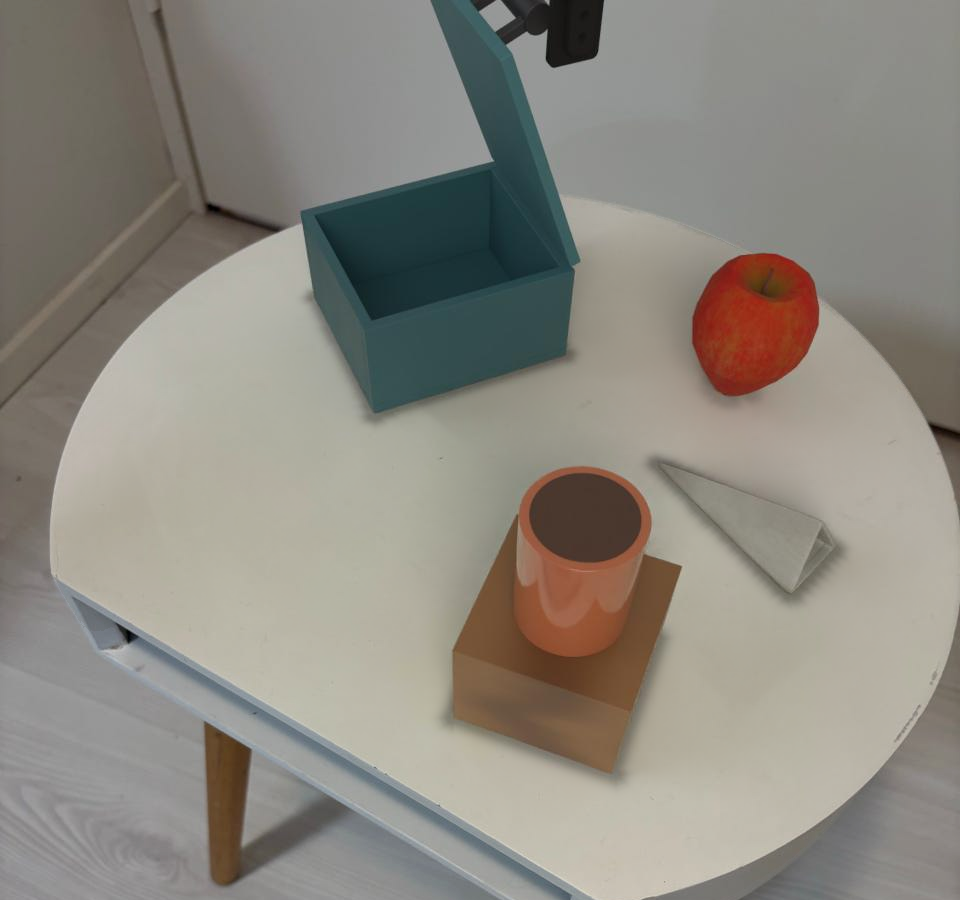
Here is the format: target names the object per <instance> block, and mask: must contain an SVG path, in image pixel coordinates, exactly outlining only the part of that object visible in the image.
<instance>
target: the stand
mask: <svg viewBox="0 0 960 900" xmlns="http://www.w3.org/2000/svg"><path fill="white" fill-rule="evenodd" d="M518 518H519V513H516V514H515V517H514V518H513V521H512V523H511V525H510V527H509V529H508V532H507V533H506V536H505V538H504V539H503V542H502V544H501V546H500V549H499V551H498V553H497V555H496V557H495V558H494V560H493V563H492V565H491V566H490V567H491V568H490V570H489V572H488V574H487V576H486V578H485V581H484V582H483V585H482V587H481V588H480V591H479V593H478V595H477V597H476V599H475V601H474V604H473V606H472V608H471V610H470V612H469V614H468V616H467V618H466V620H465V622H464V625H463V627H462V629H461V630H460V633H459V635H458V637H457V638H456V639H457V640H456V641H455V644H454V645H453V648H452V650H451V659H452V660H451V661H452V663H451V664H452V699H453V703H452V704H453V718H455V719H457V720H459V721H462V722H465V723H468V724H471V725H473V726H476V727H479V728H481V729H485V730H488V731H491V732H493V733H495V734H499V735H502V736H504V737H507V738H510V739H513V740H515V741H517V742H521V743H524V744H527V745H530V746H532V747H535V748H538V749H541V750H543V751H546V752H549V753H551V754H555V755H557V756H559V757H563V758H565V759H569V760H571V761H574V762H576V763H579V764H582V765H585V766H588V767H590V768H593V769H597V770H599V771H601V772H604V773H607V774H611V775H612V774H613V772H614V769H615V766H616V763H617V760H618V757H619V755H620V752H621V749H622V745H623V744H624V743H623V742H624V740H625V737H626V735H627V732H628V729H629V726H630V724H631V720H632V717H633V715H634V711H635V709H636V706H637V703H638V700H639V698H640V694H641V692H642V688H643V686H644V683H645V680H646V677H647V674H648V672H649V669H650V666H651V664H652V660H653V657H654V654H655V652H656V649H657V646H658V643H659V641H660V637H661V634H662V631H663V628H664V626H665V623H666V619H667V616H668V612H669V609H670V606H671V603H672V601H673V597H674V595H675V591H676V588H677V584H678V581H679V578H680V575H681V572H682V569H683V566H682V565H680V564H677V563H674V562H671V561H668V560H664V559H661V558H658V557H655V556H652V555H649V554H646V553H645V555H644V559H643V563H642V567H641V571H640V574H639V578H638V582H637V586H636V590H635V594H634V597H633V601H632V605H631V609H630V613H629V617H628V620H627V624H626V626H625V629H624V631H623V632H622V634H621V635H620V637H619V638H618V639H617V640H616V641H615V642H614V643H613V644H611V645H610V646H609V647H607V648H606V649H604V650H602V651H600V652H598V653H595V654H592V655H588V656H582V657H565V656H559V655H555V654H552V653H549V652H547V651H544V650H542V649H540V648H539V647H537V646H536V645H534V644H533V643H531V642H530V641H529V640H528V639H527V638H526V637H525V636H524V635H523V633H522V632H521V631H520V629H519V627H518V626H517V624H516V621H515V619H514V615H513V609H512V601H513V587H514V573H515V559H516V546H517V532H518Z"/></svg>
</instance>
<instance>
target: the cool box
mask: <svg viewBox="0 0 960 900" xmlns="http://www.w3.org/2000/svg"><path fill="white" fill-rule="evenodd" d="M299 213H300V219H301V225H302V226H301V227H302V231H303V238H304V244H305V250H306V257H307V262H308V269H309V275H310V281H311V287H312V292H313V298H314V300H315V302H316V303H317V306H318V307H319V311H321V314H322V316H323V317H324V320H325V321H326V324H327V325H328V328H329V329H330V331H331V333H332V336H333V337H334V339H335V341H336V343H337V346H338V347H339V349H340V351H341V353H342V354H343V356H344V359H345V360H346V362H347V364H348V367H349V368H350V370H351V372H352V374H353V376H354V378H355V380H356V382H357V383H358V386H359V387H360V390H361V391H362V393H363V395H364V397H365V399H366V401H367V403H368V405H369V408H370V410H371V411H372V413H373V414H379V413H382V412H384V411H388V410H391V409H395V408H398V407H401V406H404V405H407V404H411V403H414V402H418V401H421V400H424V399H426V398H427V399H428V398H430V397H433V396H437V395H440V394H444V393H446V392H450V391H453V390H457V389H459V388H463V387H466V386H470V385H473V384H475V383H476V384H477V383H480V382H483V381H486V380H488V379H492V378H496V377H498V376H499V377H500V376H502V375H505V374H508V373H511V372H515V371H518V370H521V369H525V368H528V367H532V366H534V365H538V364H540V363H545V362H547V361H550V360H553V359H556V358H560V357H563V356H564V357H565V356H566V354H567V353H566V352H567V346H568V335H569V327H570V319H571V310H572V301H573V293H574V283H575V274H576V269H575V268H574V266H573V267H570V266H569V264H568V263H567V261H566V260H565V259H564V257H563V256H562V254H561V253H560V252H559V250H558V249H557V248H556V246H555V245H554V243H553V242H552V241H551V239H550V238H549V236H548V235H547V234H546V232H545V231H544V229H543V228H542V227H541V225H540V224H539V223H538V221H537V220H536V218H535V217H534V216H533V214H532V213H531V211H530V210H529V209H528V207H527V206H526V204H525V203H524V202H523V200H522V199H521V198H520V196H519V195H518V193H517V192H516V191H515V189H514V188H513V186H512V185H511V184H510V182H509V181H508V180H507V178H506V177H505V175H504V174H503V173H502V171H501V170H500V168H499V167H498V166H497V164H496V163H495V161H494V160H493V161H489V162H485V163H481V164H477V165H473V166H470V167H465V168H462V169H458V170H454V171H450V172H446V173H443V174H439V175H435V176H431V177H427V178H422V179H419V180H415V181H412V182H407V183H403V184H399V185H395V186H391V187H388V188H383V189H380V190H375V191H372V192H369V193H368V192H367V193H364V194H360V195H356V196H353V197H349V198H345V199H340V200H337V201H332V202H328V203H325V204H322V205H318V206H314V207H310V208H306V209H302V210H300V211H299Z"/></svg>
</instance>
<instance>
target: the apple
mask: <svg viewBox="0 0 960 900" xmlns="http://www.w3.org/2000/svg"><path fill="white" fill-rule="evenodd" d="M691 319H692V320H691V324H692V325H691V344H692V347H693V349H694V353H695V355H696V358H697V360H698V362H699V365H700V367H701V370H702V371H703V372H704V374H705V376H706V378H707V379H708V380H709V382H710V384H711V385H712V386H713V387H714V390H716V392H717V393H719V394H722V395H724V396H727V397H741V396H745V395H749V394H752V393H755V392H757V391H759V390H761V389H763V388H765V387H768V386H771V385H772V384H775V383H776V382H779V380H781V379H783V378H784V377H786V376H787V375H789V374H790V373H791V372H792V371H793V370H795V369H796V368H797V367H798V366H799V365H800V363H801V362H802V361H803V360H804V358H805V357H806V356H807V355H808V353H809V351H810V348H811V346H812V343H813V341H814V339H815V336H816V333H817V331H818V328H819V326H820V305H819V299H818V292H817V288H816V283H815V281H814V279H813V277H812V275H811V274H810V273H809V271H807V270H806V269H805V268H804V267H802V266H801V265H799V264H798V263H797V262H796V261H795V260H792V259H790V258H787V257H785V256H783V255H780V254H779V253H770V252H757V253H749V254H740V255H738V256H735V257H733V258H731V259H729V260H726V262H725V263H723V265H721V266H720V267H719V268H718V269H717V270H715V272H714V273H712V275H711V276H710V278H709V280H708V281H707V283H706V285H705V287H704V288H703V291H702V292H701V294H700V296H699V298H698V300H697V302H696V305H695V308H694V311H693V314H692V317H691Z"/></svg>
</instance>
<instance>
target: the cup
mask: <svg viewBox="0 0 960 900" xmlns="http://www.w3.org/2000/svg"><path fill="white" fill-rule="evenodd" d="M646 500H647V499H645V497H644V495H643V494H642V493H641V492H640V490H639V489H638V488H637V487H636V486H635V485H634V484H633V483H632V482H630V480H627V479H626V478H625V477H623V476H621V475H619V474H617V473H615V472H612V471H611V470H607V469H604V468H600V467H594V466H585V465H584V466H583V465H581V466H580V465H579V466H577V465H576V466H570V467H563V468H559V469H555V470H553V471H551V472H549V473H546V474H545V475H543V476H541V477H540V478H539V479H537V480H536V481H535V482H534V483H532V484H531V486H530V487H528V489H527V490H526V491H525V493H524V495H523V497H522V499H521V502H520V504H519V509H518V514H519V518H518V532H517V546H516V559H515V573H514V587H513V601H512V609H513V615H514V619H515V621H516V624H517V626H518V627H519V629H520V631H521V632H522V633H523V635H524V636H525V637H526V638H527V639H528V640H529V641H530V642H531V643H533V644H534V645H536V646H537V647H539V648H540V649H542V650H544V651H547V652H549V653H552V654H555V655H559V656H565V657H582V656H588V655H592V654H595V653H598V652H600V651H602V650H604V649H606V648H607V647H609V646H610V645H611V644H613V643H614V642H615V641H616V640H617V639H618V638H619V637H620V635H621V634H622V632H623V631H624V629H625V626H626V624H627V620H628V617H629V613H630V609H631V605H632V601H633V597H634V594H635V590H636V586H637V582H638V578H639V574H640V571H641V567H642V563H643V559H644V555H645V554H646V551H647V548H648V544H649V540H650V537H651V533H652V526H653V525H652V524H653V523H652V522H653V521H652V513H651V509H650V507H649V504H648V502H647V501H646Z"/></svg>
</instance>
